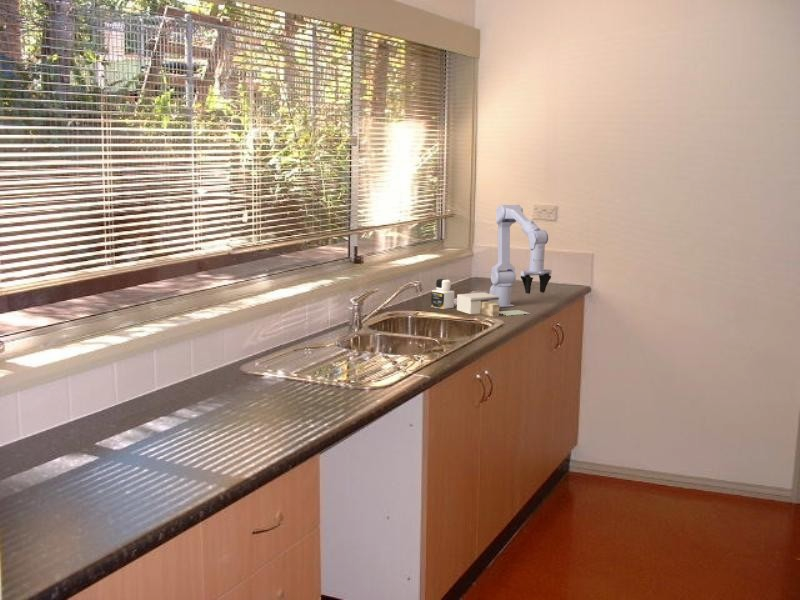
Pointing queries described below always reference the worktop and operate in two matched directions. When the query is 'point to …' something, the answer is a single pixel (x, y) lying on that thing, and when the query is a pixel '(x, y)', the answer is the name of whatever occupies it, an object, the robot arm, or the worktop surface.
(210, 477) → the worktop surface
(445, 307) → the medicine bottle
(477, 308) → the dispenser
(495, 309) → the wooden block
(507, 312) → the mat
